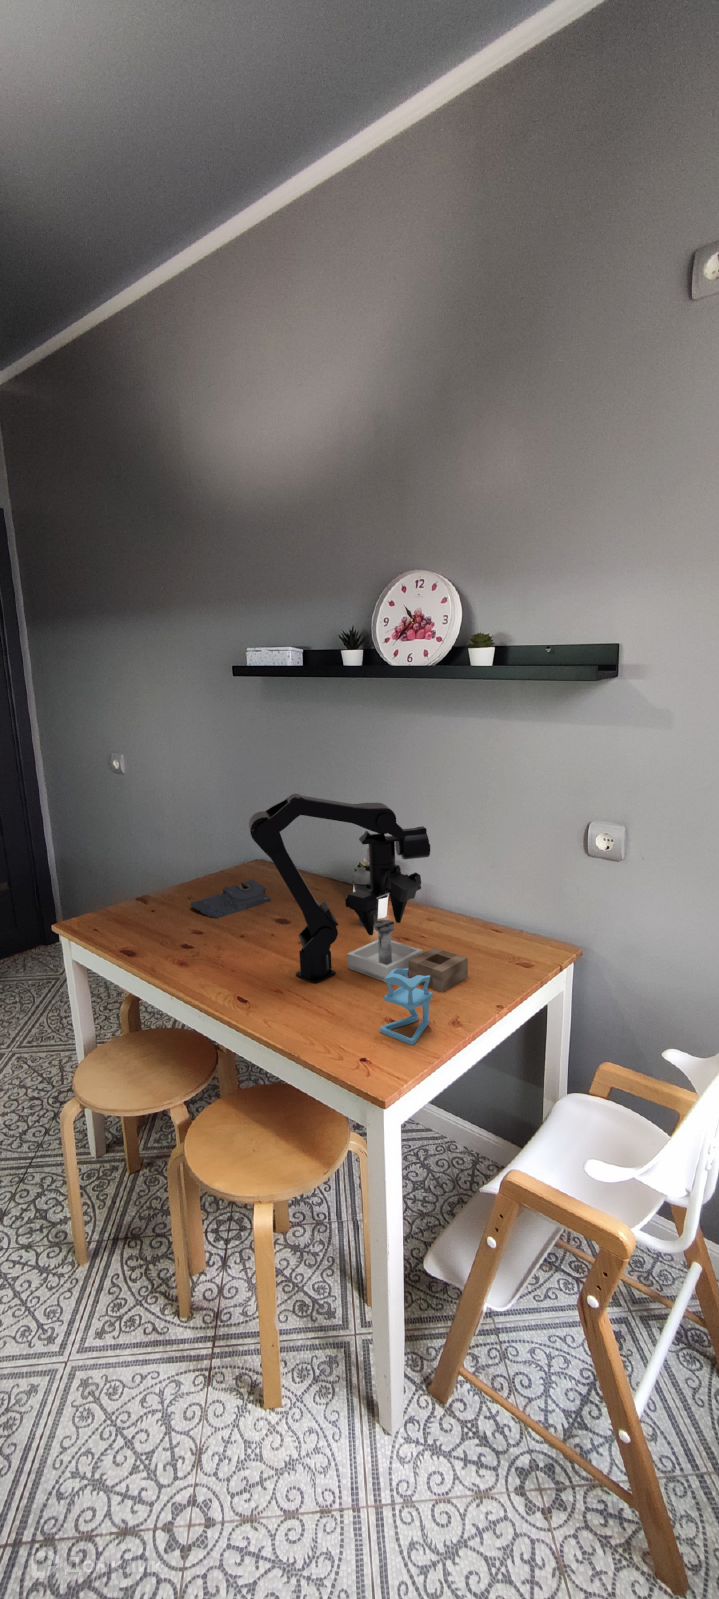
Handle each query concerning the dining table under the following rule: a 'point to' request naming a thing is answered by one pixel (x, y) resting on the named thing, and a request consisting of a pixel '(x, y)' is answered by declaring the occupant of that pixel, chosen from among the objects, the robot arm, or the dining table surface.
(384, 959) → the lock pin
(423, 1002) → the chair
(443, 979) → the block
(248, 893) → the grey stepped plate
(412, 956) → the tray
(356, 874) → the beverage cup
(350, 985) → the dining table surface
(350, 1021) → the dining table surface
